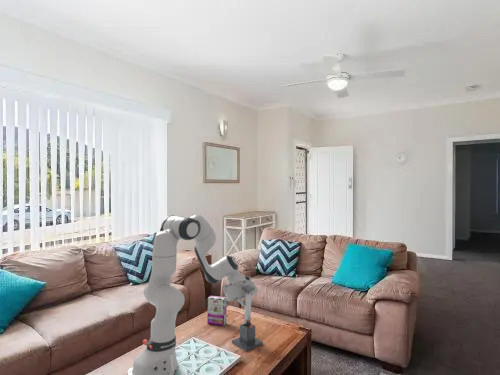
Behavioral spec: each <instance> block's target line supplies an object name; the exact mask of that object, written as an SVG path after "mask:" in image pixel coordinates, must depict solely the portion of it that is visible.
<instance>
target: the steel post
mask: <svg viewBox="0 0 500 375" xmlns="http://www.w3.org/2000/svg"><path fill="white" fill-rule="evenodd" d="M242 290H243V291H245V298H244V302H245V306H244V323H243V324H244V326H245V327H246V328H248V327H249V326H250V325H251V324H252V323H251V322H252V303H251V300H252V296H251V291H254V290H255V287H252V286H249V285H248V286H243V287H242Z"/></svg>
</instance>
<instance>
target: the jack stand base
mask: <svg viewBox="0 0 500 375" xmlns="http://www.w3.org/2000/svg"><path fill="white" fill-rule="evenodd" d="M231 343H232V344H233V345H234V346H237V347H238V348H240V349H241V350H242V351H244V352H248V351H251V350H253V349H255V348H258V347H261V346H263V344H264V341H262V340H260V339H259V338H256V325H255V324H253V323H251V325H250V326H249V327H248V328H246V327H245V326H244V323H242V324H240V325H239V337H237V338H235V339H232V340H231Z"/></svg>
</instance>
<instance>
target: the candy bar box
mask: <svg viewBox="0 0 500 375" xmlns="http://www.w3.org/2000/svg"><path fill="white" fill-rule="evenodd" d="M227 302H228V301H227V299H226V296H217V295H209V296H208V297H207V321H206V322H207V325H212V326H220V327H225V325H227V306H228V305H227Z"/></svg>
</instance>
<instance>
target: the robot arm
mask: <svg viewBox="0 0 500 375" xmlns="http://www.w3.org/2000/svg"><path fill="white" fill-rule="evenodd" d="M179 240H183V241H191V240H194V242H195V246H194V253H195V256H196V259H197V260H198V263H199V264H200V267H201V269H202V271H203V273H204V278H205V280H206V281H207V282H208V283H209V284H212V285H216V284H217V283H218V282H220V281H221V280H223V279H225V278H226V281H227V284H224V285H223V287H222V290H223V292H224V295H225V296H224V297H226V299H227V302H230V303H231V302H233V301H237V302H238V303H239V304H240V305H241V306H242V307H245V301H244V300H242V299H245V291H243V290H242V287H243V286H248V285H249V286H252V287H255V290H254V291H251V297H252V296H255V295H257V294H258V288H257V286H256V284H255V282H254V281H252V277H251V276H248V275H243V274H242V273H241V272H240V270H239V265H238V262H237V261H236V258H235V257H234V256H231V255H225V256H223V257H221V258H220V259H219V260H218V261H216V262H214V263H212V264H209V262H208V260H207V258H206V256H207V254H208V253H209V251H211V249H212V248H214V245H215V244H216V241H217V235H216V231H215V230H214V229H213V227H212V226H211V224H210V223H209V222H208V220H206V219H205V217H203V216H202V215H200V214H194V215H191V216H190V217H187V216H182V215H174V214H173V215H169V216H166V217H165V218H164V219H163V220H162V222H161V225H160V228H159V232H158V233H156V234H155V236H154V239H153V245H152V253H151V254H152V256H151V257H152V260H151V274H150V277H149V280H148V283H147V284H146V285H145V287H144V289H143V297H144V299H145V300H146V301H147V303H149V304H151V305H152V306H154V307H155V309H156V311H155V316H154V317H153V318H152V319H151V320H150V321H151V322H150V337H149V340H148V339H146V338H145V339H143V340H142V344H144V346H146V347H145V348H144V349H143V350H142V351H141V352H140V353H139V354H138V355H137V356H135V358H134V361H133V363H132V364H133V365H132V367H131V368H129V369H128V370H127V374H126V375H174V374H175V372H176V371H177V370H178V368H179V363H178V359H177V353H176V352H177V351H176V346H177V336H176V319H177V316H178V313H179V311H181V310H182V308H183V306H184V305H185V295H184V293H183V292H181V290H179V289H178V288H177V287H174V286H172V285H171V280H172V277H173V275H174V274H176V271H177V257H178V256H177V251H178V250H177V245H178V242H179ZM252 303H253V301H252V299H251V304H252ZM177 367H178V368H177ZM175 370H176V371H175Z"/></svg>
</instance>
